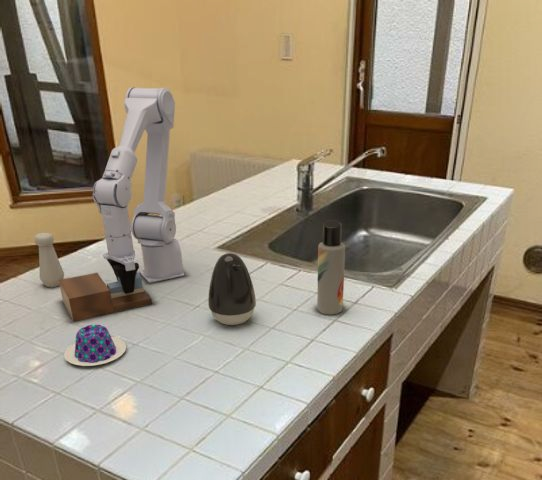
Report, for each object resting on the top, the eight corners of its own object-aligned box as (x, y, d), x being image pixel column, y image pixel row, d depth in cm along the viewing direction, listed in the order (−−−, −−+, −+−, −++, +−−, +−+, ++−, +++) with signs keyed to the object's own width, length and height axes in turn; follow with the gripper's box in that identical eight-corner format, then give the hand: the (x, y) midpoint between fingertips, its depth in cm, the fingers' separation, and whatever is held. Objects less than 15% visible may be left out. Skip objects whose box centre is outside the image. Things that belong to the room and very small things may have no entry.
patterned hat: (65, 344, 125) (60, 321, 122) (124, 335, 127) (120, 313, 125) (64, 373, 115) (59, 349, 112) (129, 363, 117) (125, 339, 115)
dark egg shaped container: (221, 335, 127) (216, 266, 119) (202, 316, 135) (197, 250, 127) (265, 324, 130) (262, 257, 123) (244, 306, 138) (241, 242, 131)
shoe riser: (137, 286, 150) (134, 265, 147) (152, 304, 141) (149, 282, 138) (63, 301, 143) (58, 280, 140) (73, 321, 134) (68, 298, 131)
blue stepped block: (140, 286, 146) (138, 272, 144) (144, 291, 143) (142, 277, 141) (107, 293, 143) (104, 279, 141) (110, 298, 140) (108, 284, 138)
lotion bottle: (345, 305, 137) (348, 219, 127) (339, 316, 133) (342, 227, 123) (320, 302, 139) (322, 217, 129) (314, 313, 134) (315, 225, 124)
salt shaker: (58, 289, 149) (47, 238, 143) (37, 288, 150) (25, 237, 144) (69, 280, 154) (59, 230, 148) (49, 279, 155) (38, 229, 149)
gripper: (92, 227, 140) (102, 282, 147) (108, 246, 129) (118, 304, 135) (122, 222, 143) (130, 276, 149) (140, 240, 131) (148, 297, 138)
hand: (126, 289), depth 143 cm, fingers closed on blue stepped block, 3 cm apart
